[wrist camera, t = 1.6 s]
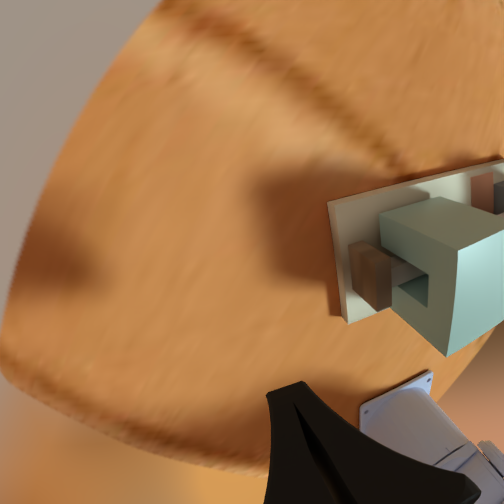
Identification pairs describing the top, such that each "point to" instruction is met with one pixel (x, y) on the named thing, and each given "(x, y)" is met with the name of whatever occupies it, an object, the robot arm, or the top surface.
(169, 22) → the top surface
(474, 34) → the top surface
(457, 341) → the sleeve
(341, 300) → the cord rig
